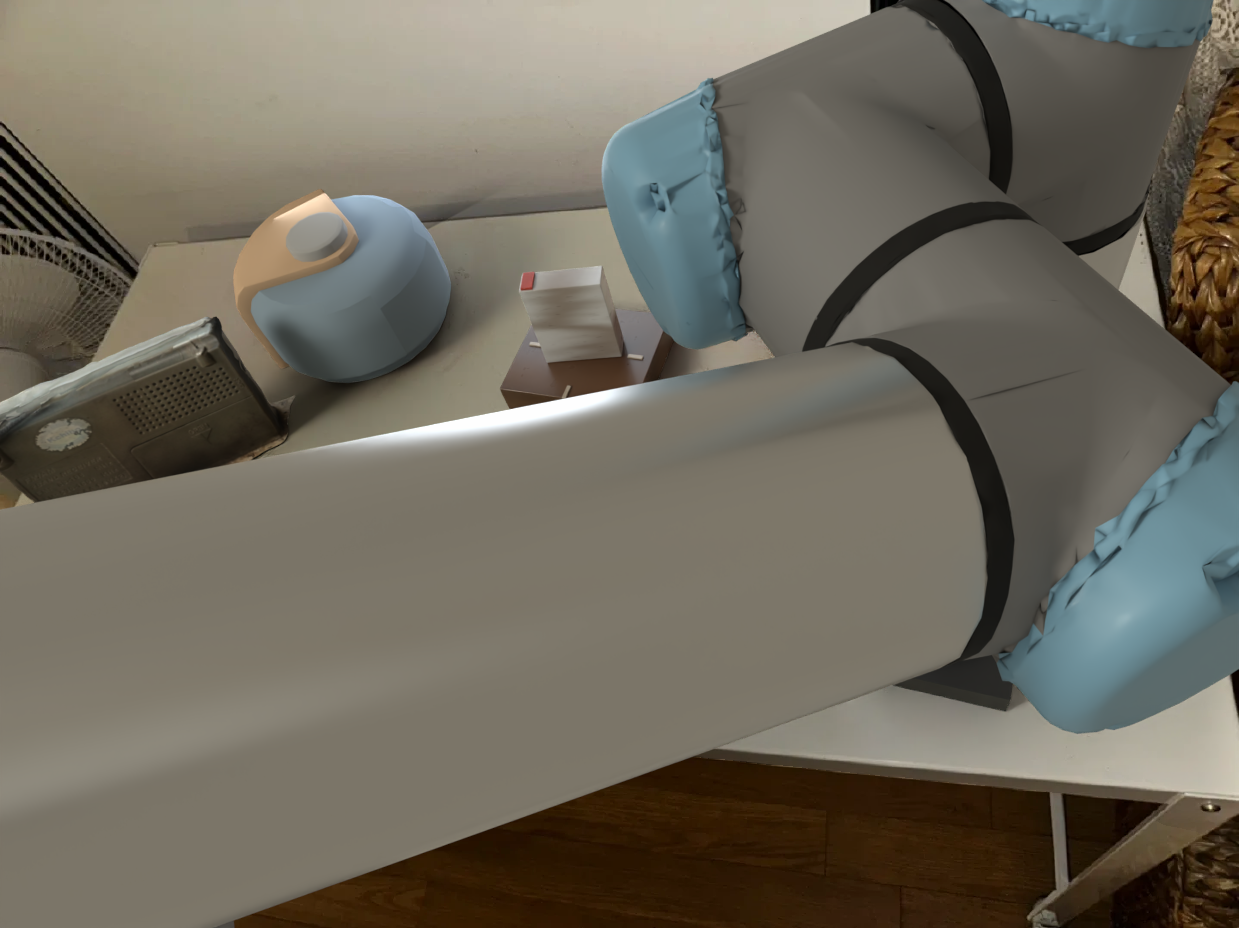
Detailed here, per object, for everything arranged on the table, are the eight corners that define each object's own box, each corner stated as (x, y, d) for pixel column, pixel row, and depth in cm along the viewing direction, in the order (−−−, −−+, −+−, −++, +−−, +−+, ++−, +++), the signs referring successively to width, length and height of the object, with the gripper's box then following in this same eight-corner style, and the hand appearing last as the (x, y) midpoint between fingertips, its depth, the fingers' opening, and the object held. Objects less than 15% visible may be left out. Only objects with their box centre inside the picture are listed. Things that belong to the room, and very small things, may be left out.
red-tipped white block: (623, 338, 83) (601, 263, 76) (622, 356, 82) (599, 281, 74) (549, 344, 85) (521, 271, 77) (546, 362, 83) (517, 290, 76)
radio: (295, 395, 92) (213, 288, 80) (306, 457, 87) (219, 353, 75) (76, 483, 91) (-41, 389, 79) (73, 552, 86) (-52, 462, 74)
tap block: (639, 429, 81) (632, 407, 78) (508, 409, 85) (498, 388, 83) (675, 335, 86) (670, 312, 84) (551, 321, 91) (542, 298, 88)
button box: (1006, 712, 61) (1015, 690, 58) (868, 680, 64) (869, 657, 61) (1022, 568, 66) (1031, 541, 63) (894, 545, 69) (897, 518, 66)
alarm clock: (336, 245, 105) (284, 157, 95) (487, 266, 97) (448, 173, 88) (243, 372, 95) (175, 289, 86) (401, 406, 88) (347, 319, 78)
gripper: (954, 128, 44) (922, 420, 62) (885, 442, 35) (872, 675, 53) (1129, 134, 41) (1041, 436, 60) (1105, 474, 32) (1010, 707, 51)
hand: (962, 548), depth 57 cm, fingers open, 6 cm apart
